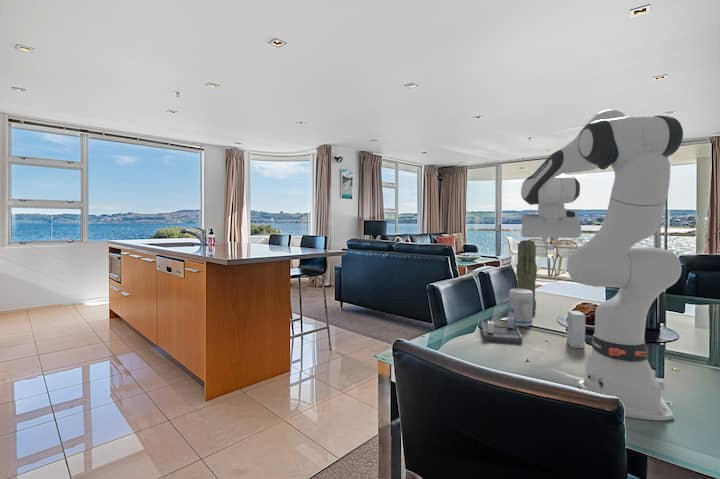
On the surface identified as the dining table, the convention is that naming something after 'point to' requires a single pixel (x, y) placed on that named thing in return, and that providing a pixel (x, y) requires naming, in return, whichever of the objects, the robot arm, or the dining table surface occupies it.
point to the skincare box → (576, 329)
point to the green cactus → (527, 268)
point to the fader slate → (510, 322)
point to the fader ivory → (490, 327)
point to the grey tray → (502, 334)
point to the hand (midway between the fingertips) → (549, 249)
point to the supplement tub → (521, 306)
